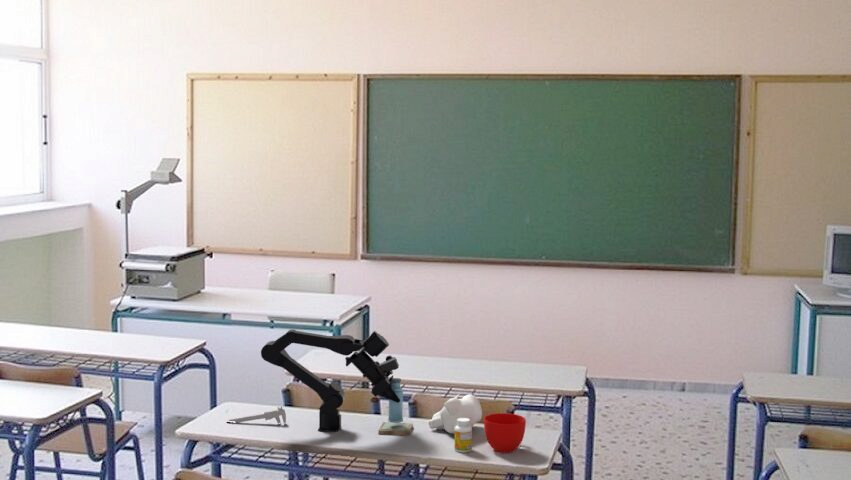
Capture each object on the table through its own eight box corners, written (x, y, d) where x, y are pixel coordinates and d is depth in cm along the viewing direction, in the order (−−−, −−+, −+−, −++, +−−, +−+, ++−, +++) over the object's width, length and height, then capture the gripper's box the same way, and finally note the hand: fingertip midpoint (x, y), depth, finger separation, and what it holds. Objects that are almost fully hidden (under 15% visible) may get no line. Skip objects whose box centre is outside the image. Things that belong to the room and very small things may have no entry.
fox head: (430, 400, 345) (415, 411, 326) (474, 386, 342) (462, 396, 322) (442, 437, 345) (428, 450, 325) (487, 423, 341) (476, 436, 321)
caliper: (285, 424, 342) (285, 406, 341) (285, 425, 340) (285, 406, 340) (226, 423, 342) (225, 405, 341) (225, 424, 341) (225, 405, 340)
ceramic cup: (530, 442, 322) (531, 412, 321) (521, 458, 306) (521, 426, 305) (490, 439, 326) (491, 408, 325) (479, 454, 310) (479, 422, 309)
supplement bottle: (453, 447, 316) (453, 417, 315) (470, 447, 316) (470, 417, 316) (455, 452, 311) (455, 422, 310) (472, 452, 311) (473, 421, 310)
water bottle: (390, 423, 331) (391, 381, 330) (386, 419, 336) (386, 378, 334) (405, 422, 333) (405, 380, 331) (400, 418, 337) (400, 377, 336)
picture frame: (378, 433, 330) (378, 429, 330) (383, 425, 340) (383, 421, 340) (408, 435, 329) (408, 431, 329) (412, 426, 339) (412, 422, 339)
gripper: (382, 355, 323) (416, 390, 323) (386, 344, 341) (418, 377, 342) (357, 379, 324) (391, 413, 324) (363, 366, 342) (395, 399, 343)
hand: (399, 399), depth 333 cm, fingers closed on water bottle, 5 cm apart
